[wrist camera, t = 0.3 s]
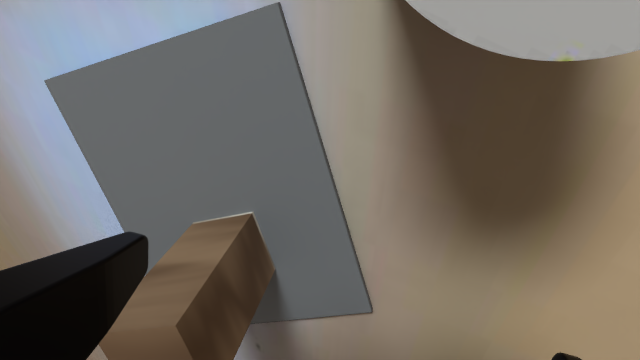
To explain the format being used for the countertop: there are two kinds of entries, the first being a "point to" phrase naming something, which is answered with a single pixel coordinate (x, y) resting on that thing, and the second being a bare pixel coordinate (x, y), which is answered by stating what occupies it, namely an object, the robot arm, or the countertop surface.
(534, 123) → the countertop surface
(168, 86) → the mat
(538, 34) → the cup
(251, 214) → the walnut block
